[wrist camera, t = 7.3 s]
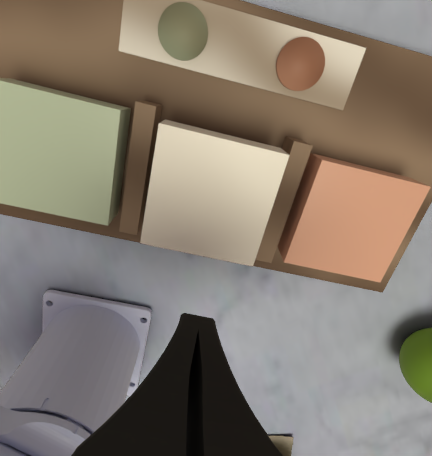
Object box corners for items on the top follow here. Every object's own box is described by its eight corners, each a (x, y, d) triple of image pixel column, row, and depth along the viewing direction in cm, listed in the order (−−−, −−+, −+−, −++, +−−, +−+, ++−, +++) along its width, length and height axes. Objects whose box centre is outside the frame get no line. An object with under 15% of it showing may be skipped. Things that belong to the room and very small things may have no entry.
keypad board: (372, 280, 23) (398, 310, 20) (-7, 201, 20) (-48, 221, 17) (476, 77, 18) (535, 74, 14) (-19, -67, 15) (-82, -111, 12)
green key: (118, 212, 19) (107, 225, 17) (14, 190, 18) (-9, 201, 16) (130, 108, 16) (120, 110, 14) (11, 78, 16) (-15, 76, 14)
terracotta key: (365, 265, 20) (380, 282, 18) (277, 246, 20) (283, 262, 18) (408, 177, 18) (430, 186, 16) (310, 152, 17) (322, 159, 15)
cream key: (248, 249, 18) (252, 266, 16) (147, 227, 18) (139, 243, 16) (280, 148, 16) (289, 155, 14) (165, 119, 15) (159, 122, 13)
